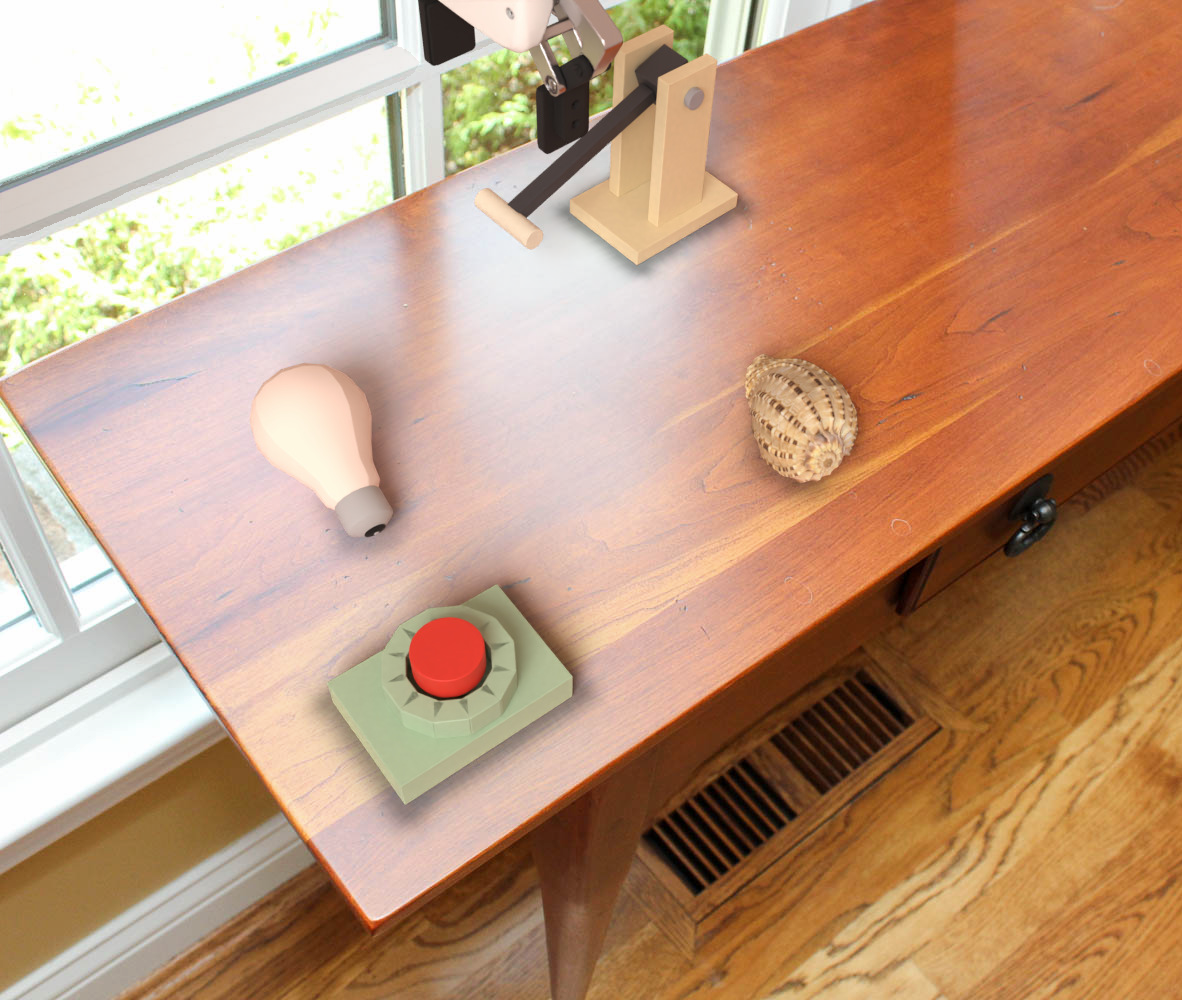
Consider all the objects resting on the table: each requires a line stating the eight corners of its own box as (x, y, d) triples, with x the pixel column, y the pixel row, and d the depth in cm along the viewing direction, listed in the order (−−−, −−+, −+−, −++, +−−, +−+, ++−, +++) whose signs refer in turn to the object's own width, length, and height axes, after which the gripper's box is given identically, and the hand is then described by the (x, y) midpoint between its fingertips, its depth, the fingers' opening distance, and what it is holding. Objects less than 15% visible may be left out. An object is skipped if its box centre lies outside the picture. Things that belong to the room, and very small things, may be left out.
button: (437, 711, 59) (434, 694, 58) (398, 658, 61) (394, 641, 59) (500, 672, 61) (499, 655, 60) (461, 622, 62) (458, 604, 61)
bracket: (636, 265, 85) (647, 109, 75) (569, 212, 87) (570, 54, 77) (736, 206, 90) (758, 52, 80) (670, 158, 92) (683, 2, 82)
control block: (405, 805, 60) (396, 771, 57) (332, 702, 63) (320, 664, 60) (572, 696, 65) (573, 659, 62) (498, 604, 67) (495, 564, 64)
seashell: (709, 452, 79) (805, 509, 72) (692, 370, 76) (792, 421, 69) (801, 405, 83) (902, 455, 76) (789, 325, 79) (894, 369, 72)
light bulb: (422, 487, 66) (325, 323, 68) (308, 548, 64) (212, 378, 66) (437, 520, 72) (348, 370, 74) (334, 577, 70) (246, 421, 72)
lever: (532, 258, 77) (520, 236, 75) (480, 216, 79) (468, 193, 77) (709, 95, 80) (703, 70, 78) (656, 58, 82) (649, 32, 80)
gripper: (302, -284, 56) (355, 47, 70) (551, -120, 50) (556, 207, 64) (436, -318, 60) (461, 3, 73) (683, -168, 54) (660, 150, 67)
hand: (505, 97), depth 68 cm, fingers open, 9 cm apart
